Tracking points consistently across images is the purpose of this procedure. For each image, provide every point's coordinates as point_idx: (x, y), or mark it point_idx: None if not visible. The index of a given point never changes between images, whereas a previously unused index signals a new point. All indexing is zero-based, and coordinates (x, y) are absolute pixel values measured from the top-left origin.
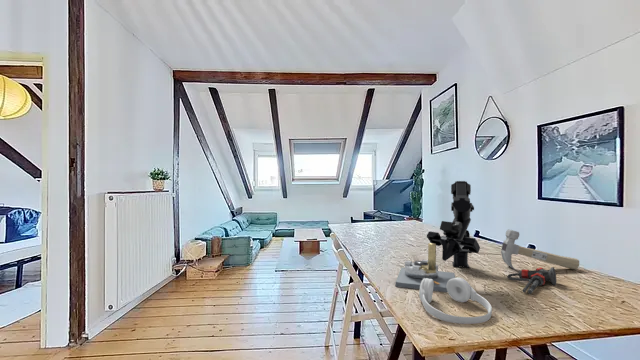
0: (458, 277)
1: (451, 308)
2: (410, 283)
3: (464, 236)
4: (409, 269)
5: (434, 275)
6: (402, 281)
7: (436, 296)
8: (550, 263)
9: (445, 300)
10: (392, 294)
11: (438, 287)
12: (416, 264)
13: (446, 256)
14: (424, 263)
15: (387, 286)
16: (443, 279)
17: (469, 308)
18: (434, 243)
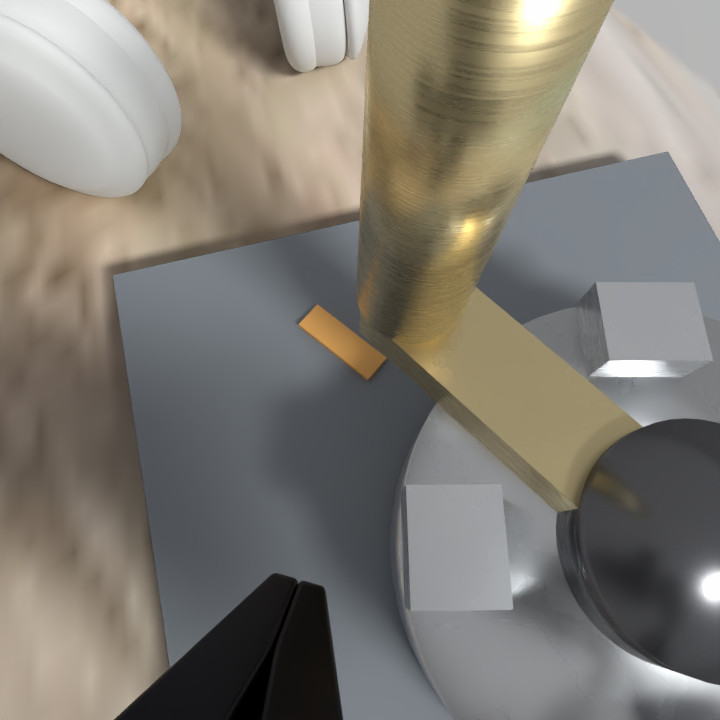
0: (5, 18)
1: (138, 8)
2: (542, 187)
3: None
4: (714, 327)
5: (406, 463)
6: (629, 197)
7: (276, 146)
8: None
9: (197, 108)
10: None
11: (288, 240)
12: (717, 430)
13: (215, 632)
14: (626, 495)
15: (692, 144)
16: (304, 529)
17: None
18: None
